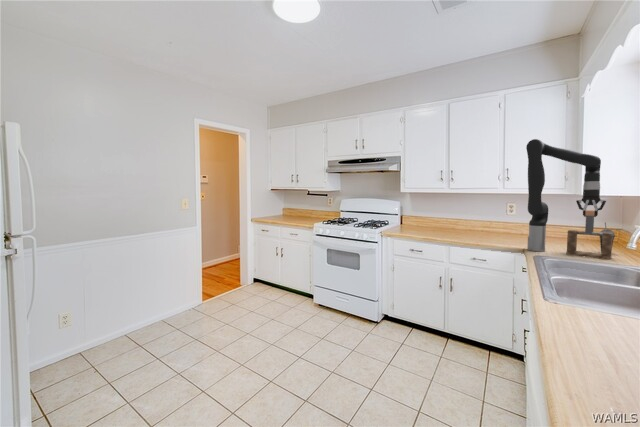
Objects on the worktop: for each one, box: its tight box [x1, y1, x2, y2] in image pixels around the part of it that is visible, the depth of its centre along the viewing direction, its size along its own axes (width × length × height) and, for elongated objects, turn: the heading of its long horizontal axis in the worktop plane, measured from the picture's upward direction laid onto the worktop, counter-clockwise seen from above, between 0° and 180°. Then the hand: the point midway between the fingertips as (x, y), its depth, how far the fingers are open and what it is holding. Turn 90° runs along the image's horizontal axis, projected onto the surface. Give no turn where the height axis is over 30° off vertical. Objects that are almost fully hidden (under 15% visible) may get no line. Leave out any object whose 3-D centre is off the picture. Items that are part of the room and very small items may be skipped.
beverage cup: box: [599, 221, 616, 253], centre depth 186 cm, size 7×7×20 cm
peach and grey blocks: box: [584, 209, 595, 234], centre depth 179 cm, size 4×9×14 cm, turn 132°
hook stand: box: [565, 229, 613, 260], centre depth 180 cm, size 20×10×15 cm, turn 42°
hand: (590, 216), depth 178 cm, fingers closed on peach and grey blocks, 4 cm apart
